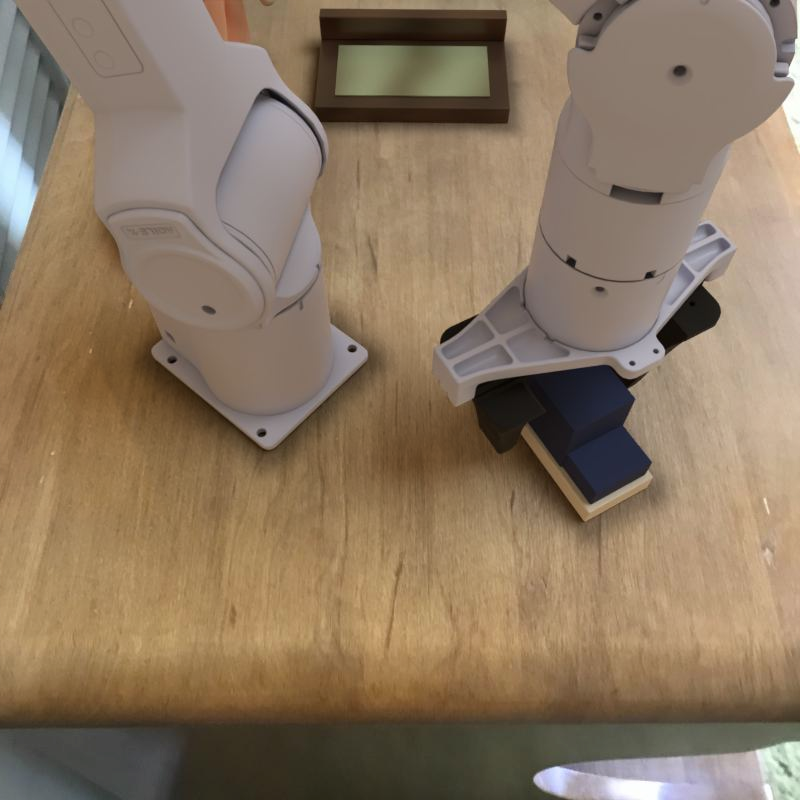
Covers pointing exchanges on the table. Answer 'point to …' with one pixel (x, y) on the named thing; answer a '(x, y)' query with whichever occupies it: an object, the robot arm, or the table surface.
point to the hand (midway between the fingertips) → (556, 405)
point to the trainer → (587, 437)
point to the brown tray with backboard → (412, 66)
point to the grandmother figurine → (231, 18)
